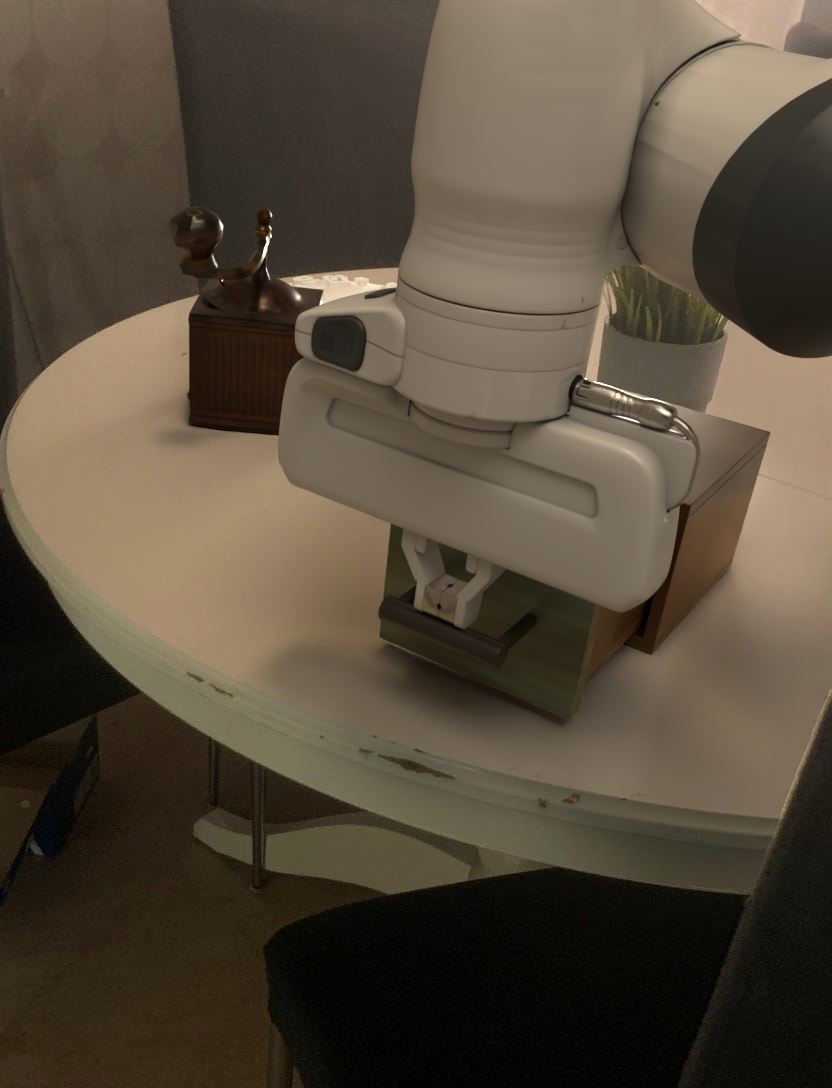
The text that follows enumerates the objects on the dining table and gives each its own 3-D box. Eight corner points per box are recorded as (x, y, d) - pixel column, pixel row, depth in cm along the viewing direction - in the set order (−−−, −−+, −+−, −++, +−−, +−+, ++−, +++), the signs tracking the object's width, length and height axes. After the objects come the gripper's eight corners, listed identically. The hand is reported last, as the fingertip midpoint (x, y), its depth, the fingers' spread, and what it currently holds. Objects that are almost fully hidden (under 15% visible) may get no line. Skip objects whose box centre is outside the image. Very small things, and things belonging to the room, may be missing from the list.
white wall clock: (296, 290, 126) (298, 263, 125) (464, 320, 122) (467, 293, 120) (220, 339, 110) (221, 310, 109) (410, 376, 106) (413, 345, 104)
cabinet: (651, 655, 68) (691, 505, 62) (459, 579, 74) (479, 436, 68) (731, 566, 78) (770, 431, 73) (556, 506, 84) (581, 377, 79)
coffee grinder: (198, 381, 101) (197, 168, 91) (320, 391, 101) (332, 180, 91) (166, 451, 88) (162, 211, 78) (307, 462, 88) (320, 225, 78)
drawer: (527, 766, 57) (555, 628, 52) (329, 673, 62) (339, 542, 58) (663, 620, 70) (695, 500, 65) (489, 554, 75) (507, 440, 71)
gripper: (737, 398, 47) (658, 667, 55) (345, 286, 56) (322, 530, 64) (684, 437, 43) (606, 725, 50) (267, 308, 52) (252, 569, 59)
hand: (445, 615), depth 57 cm, fingers closed, pressing on drawer
